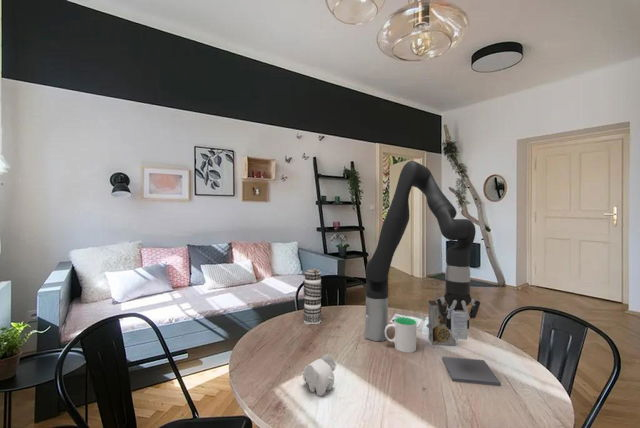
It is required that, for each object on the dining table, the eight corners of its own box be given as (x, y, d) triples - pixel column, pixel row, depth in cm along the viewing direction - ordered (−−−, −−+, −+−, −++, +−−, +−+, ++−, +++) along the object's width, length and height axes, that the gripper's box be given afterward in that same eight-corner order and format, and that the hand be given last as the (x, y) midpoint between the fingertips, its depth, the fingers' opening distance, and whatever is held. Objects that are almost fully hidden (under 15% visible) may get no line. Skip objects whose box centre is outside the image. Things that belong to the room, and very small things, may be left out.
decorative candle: (299, 319, 146) (300, 268, 146) (317, 316, 150) (317, 266, 150) (307, 326, 138) (307, 271, 138) (325, 323, 142) (325, 270, 141)
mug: (386, 351, 114) (386, 324, 114) (383, 342, 122) (383, 316, 122) (418, 352, 113) (418, 325, 113) (413, 343, 121) (413, 317, 121)
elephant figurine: (313, 374, 98) (313, 347, 98) (343, 388, 91) (343, 359, 91) (292, 387, 91) (292, 358, 91) (323, 404, 83) (323, 372, 83)
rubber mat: (452, 381, 95) (452, 378, 95) (442, 359, 108) (442, 356, 108) (500, 385, 92) (500, 382, 92) (483, 362, 106) (483, 360, 106)
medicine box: (467, 340, 97) (467, 313, 97) (452, 338, 98) (453, 312, 97) (460, 330, 105) (461, 305, 104) (447, 329, 105) (447, 304, 105)
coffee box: (450, 339, 125) (450, 300, 125) (455, 346, 119) (456, 305, 119) (427, 338, 126) (428, 299, 126) (431, 344, 120) (432, 304, 120)
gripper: (437, 280, 98) (437, 332, 98) (484, 282, 96) (484, 335, 96) (432, 275, 106) (432, 323, 106) (476, 276, 103) (475, 326, 104)
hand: (457, 329), depth 101 cm, fingers closed on medicine box, 4 cm apart
